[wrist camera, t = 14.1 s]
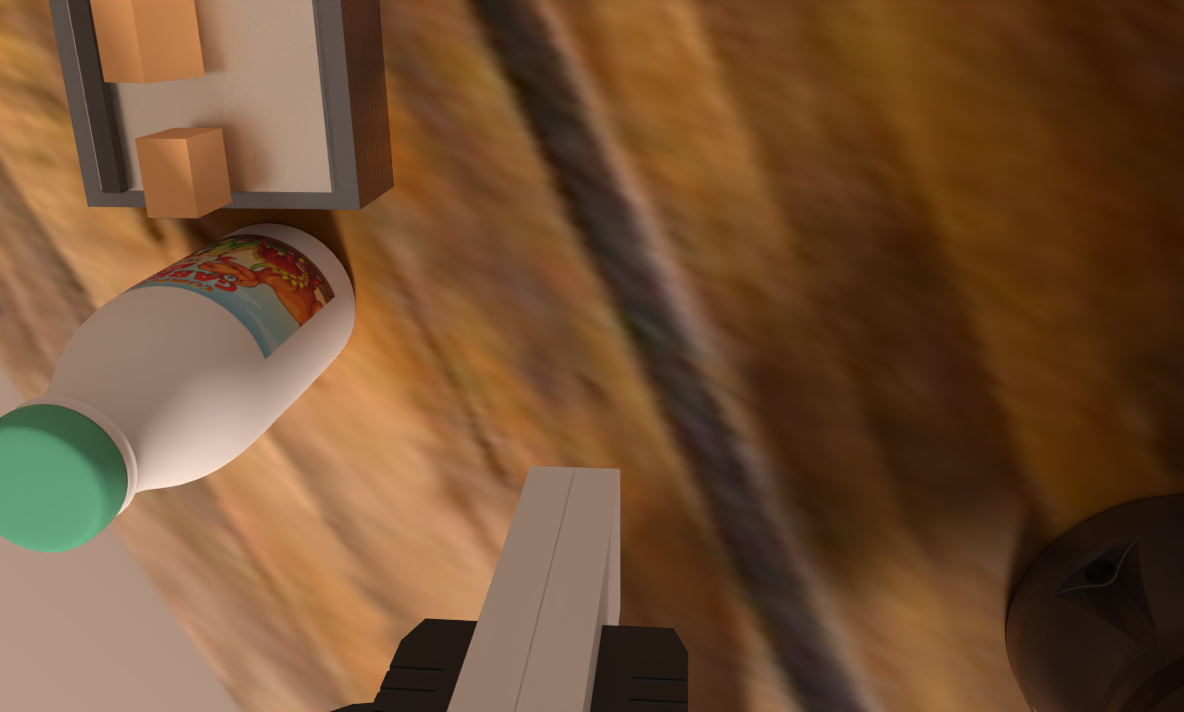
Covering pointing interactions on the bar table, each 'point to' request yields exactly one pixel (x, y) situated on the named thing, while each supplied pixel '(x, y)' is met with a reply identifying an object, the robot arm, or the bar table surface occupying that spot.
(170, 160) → the tan wooden block
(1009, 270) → the bar table surface
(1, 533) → the milk bottle
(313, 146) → the gray rectangular tray
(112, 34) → the small orange block
